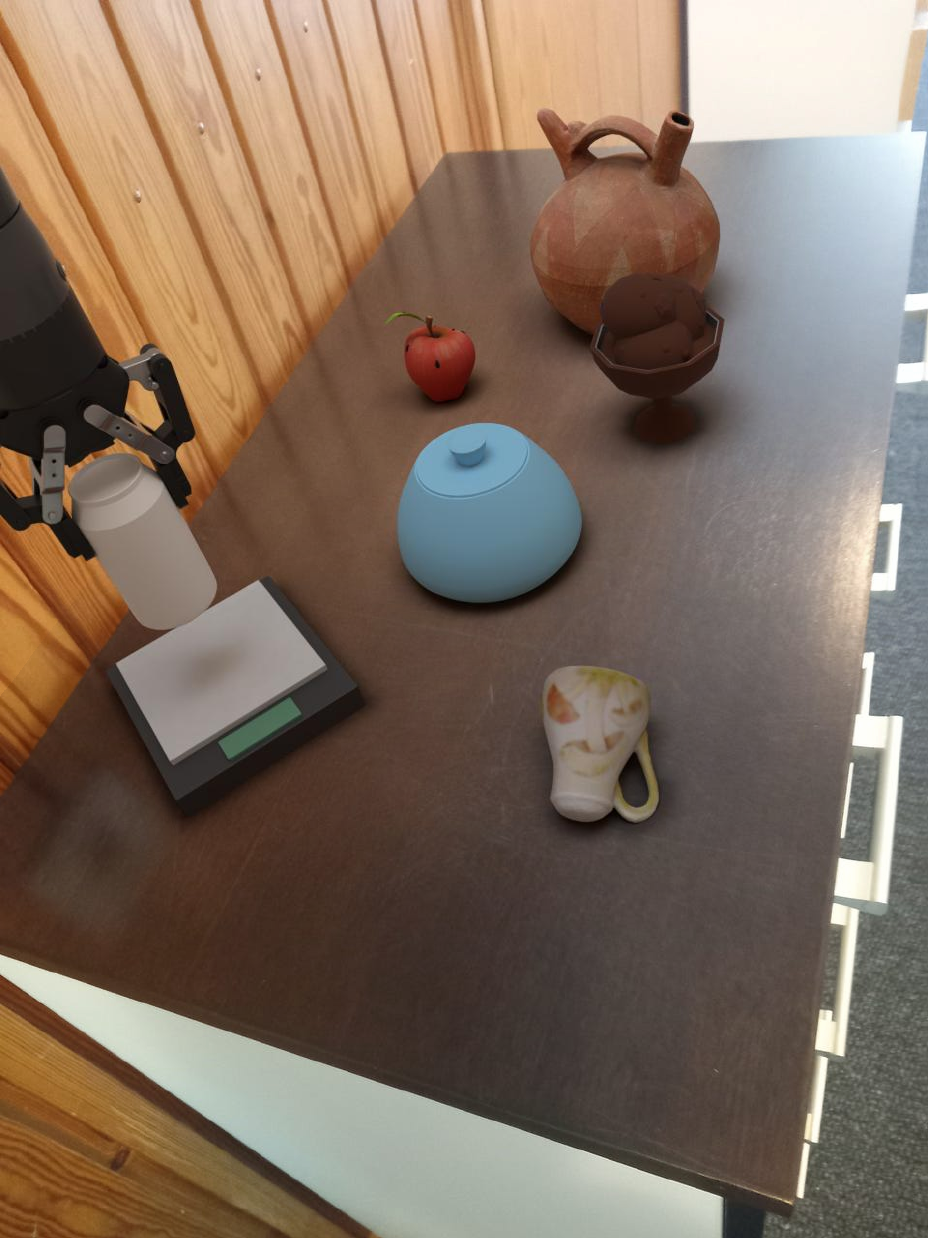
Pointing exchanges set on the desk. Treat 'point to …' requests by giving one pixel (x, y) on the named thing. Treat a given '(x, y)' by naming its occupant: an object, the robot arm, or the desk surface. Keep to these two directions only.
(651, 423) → the ice cream bowl
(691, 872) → the desk surface
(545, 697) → the mug
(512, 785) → the desk surface
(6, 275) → the robot arm
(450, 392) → the apple
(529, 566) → the sugar bowl
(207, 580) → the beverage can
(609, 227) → the jug
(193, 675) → the scale
